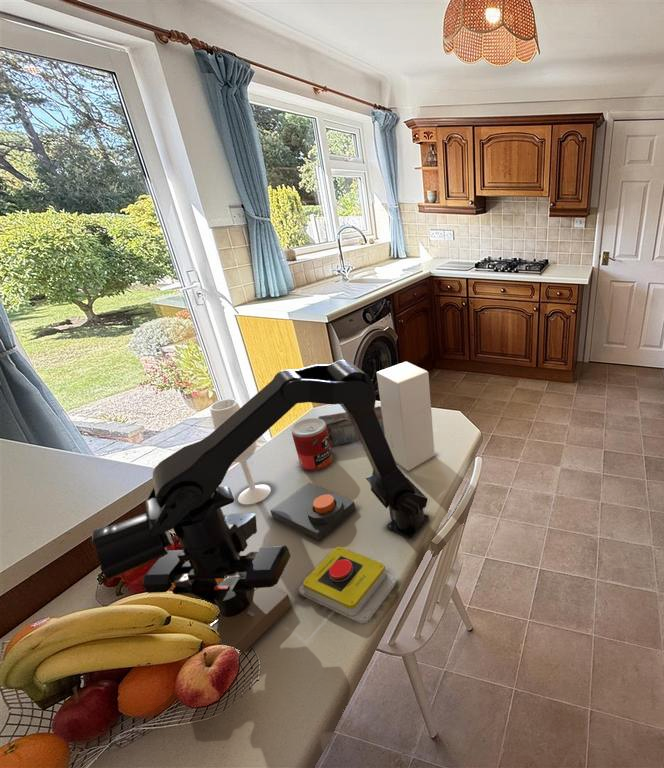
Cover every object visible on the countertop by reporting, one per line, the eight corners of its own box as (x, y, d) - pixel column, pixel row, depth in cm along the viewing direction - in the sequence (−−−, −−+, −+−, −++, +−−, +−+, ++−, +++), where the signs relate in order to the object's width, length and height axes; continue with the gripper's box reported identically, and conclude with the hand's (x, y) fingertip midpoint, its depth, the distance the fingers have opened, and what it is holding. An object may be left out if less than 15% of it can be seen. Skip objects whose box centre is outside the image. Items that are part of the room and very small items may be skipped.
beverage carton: (321, 433, 116) (317, 413, 113) (390, 421, 122) (388, 402, 119) (320, 448, 109) (316, 428, 106) (393, 435, 116) (391, 416, 113)
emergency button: (331, 537, 78) (396, 563, 73) (335, 553, 80) (399, 579, 75) (291, 576, 70) (361, 608, 65) (297, 593, 72) (365, 625, 67)
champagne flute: (261, 504, 91) (230, 413, 80) (231, 504, 90) (195, 412, 80) (276, 484, 97) (249, 396, 86) (248, 484, 96) (217, 396, 86)
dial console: (292, 605, 70) (287, 593, 68) (235, 661, 62) (229, 648, 60) (246, 578, 74) (241, 566, 73) (187, 626, 66) (181, 614, 65)
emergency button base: (357, 509, 90) (354, 496, 88) (320, 542, 82) (317, 527, 80) (310, 489, 95) (307, 476, 94) (272, 517, 87) (267, 503, 86)
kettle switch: (339, 504, 87) (337, 497, 86) (324, 516, 83) (322, 510, 83) (325, 498, 88) (324, 491, 87) (310, 510, 85) (308, 503, 84)
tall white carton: (387, 457, 107) (375, 371, 96) (414, 442, 113) (406, 360, 102) (408, 471, 102) (398, 383, 91) (435, 455, 108) (428, 371, 97)
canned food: (322, 473, 101) (313, 437, 96) (293, 468, 102) (283, 432, 97) (339, 455, 107) (332, 420, 102) (312, 450, 109) (304, 416, 104)
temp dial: (256, 591, 69) (249, 574, 67) (243, 616, 65) (235, 599, 63) (229, 592, 68) (221, 575, 67) (214, 617, 65) (205, 600, 63)
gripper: (293, 493, 67) (312, 558, 74) (174, 497, 66) (204, 563, 73) (261, 548, 57) (286, 617, 64) (120, 554, 56) (162, 624, 63)
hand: (235, 602), depth 67 cm, fingers closed on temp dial, 4 cm apart
